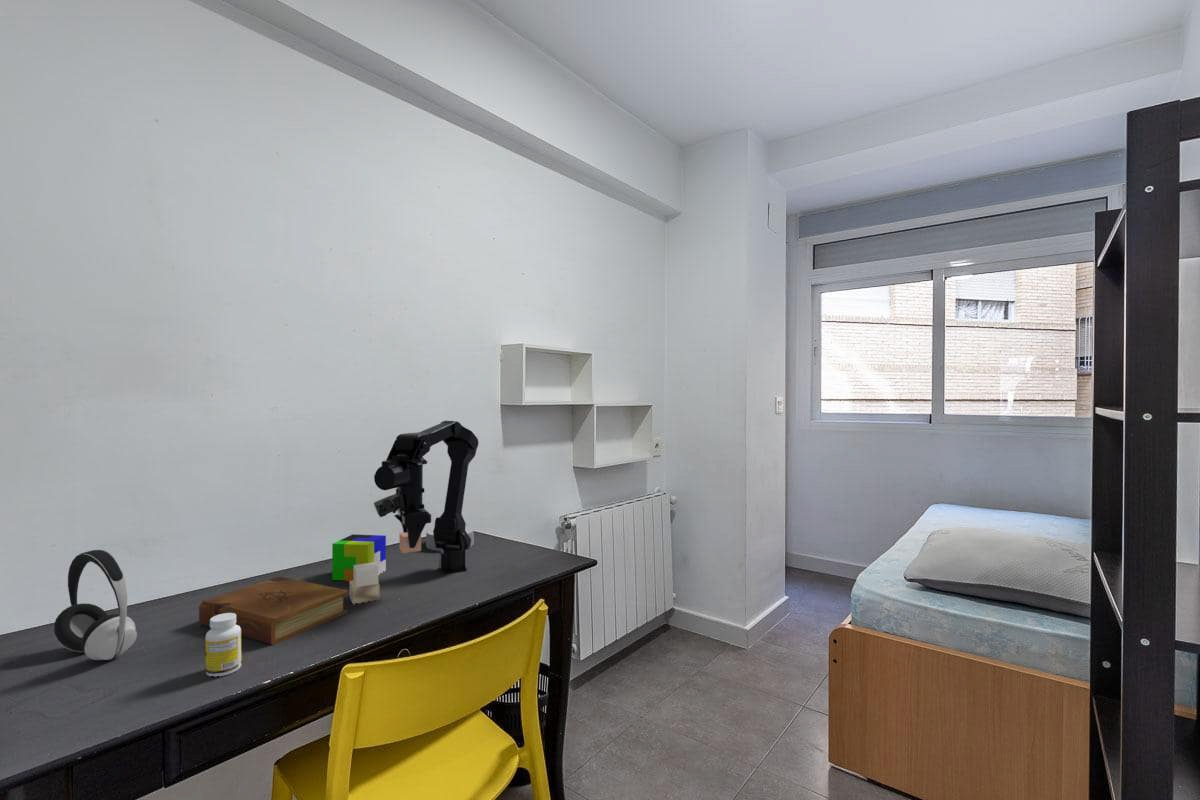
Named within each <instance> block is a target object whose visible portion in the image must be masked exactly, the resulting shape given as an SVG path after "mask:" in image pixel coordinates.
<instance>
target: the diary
mask: <svg viewBox="0 0 1200 800" xmlns="http://www.w3.org/2000/svg"><path fill="white" fill-rule="evenodd" d="M348 591H349V590H348V589H343V588H338V587H334V586H333V587H332V586H328V585H323V584H320V583H313V582H309V581H304V580H300V579H294V578H289V577H284V576H275V577H272V578H269V579H267V580H263V581H261V582H257V583H255V584H251V585H249V586H245V587H243V588H239V589H236V590H233V591H230V592H227V593H223V594H220V595H218V596H214V597H211V598H207V599H205V600H202V602H201V603H200V605H199V606H198V624H199V625H201V626H203V625H204V627H207V626H208V628H210V619H211V618H212V617H214V616H216V615H219V614H224V613H235V614H236V623H235V624H236V625H238V626H240V628H241V637H244V638H248V639H250V640H253V641H258V642H262V643H265V644H268V645H272V646H274V645H276V643H277V644H279V643H281V642H283V641H286V640H287V639H290V638H293V637H295V636H297V635H299V634H301V632H302V633H304V632H306V631H308V629H309V630H310V629H313V628H315V627H317V626H320V625H322V624H324V623H327V622H329V621H331V620H333V619H335V618H338V617H340V616H342V615H341V614H343V615H344V613H345V614H347V613H348V610H347V609H344V596H346V595H348V594H349V592H348ZM346 612H347V613H346ZM339 615H340V616H339ZM303 631H304V632H303ZM292 636H293V637H292ZM285 639H286V640H285Z"/></svg>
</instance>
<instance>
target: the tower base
mask: <svg viewBox="0 0 1200 800" xmlns="http://www.w3.org/2000/svg"><path fill="white" fill-rule="evenodd" d="M349 598H351V599H350V601H351V603H353V604H352V605H356V604H355V603H358V604H362V602H364V603H368V601H370V602H375V601H374V600H376V601H379V600H380V582H378V584H375V585H368V586H362V587H356V586H355V584H354V581H349Z"/></svg>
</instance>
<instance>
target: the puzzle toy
mask: <svg viewBox="0 0 1200 800" xmlns="http://www.w3.org/2000/svg"><path fill="white" fill-rule="evenodd" d="M386 544H387V535H381V534H380V535H379V534H378V535H377V534H354V533H352V534H349V535H348V536H346V537H344V538H342V539H340V540H338V541H335V542H333V543H332V544H331V545H332V549H331V550H332V552H331V553H332V554H331V555H332V556H331V557H332V559H331V560H332V561H331V563H332V568H331V569H332V571H331V572H332V574H331V575H332V576H331V578H332V580H346V581H345V582H350V581H353V569H354V565H359V564H366V563H373V562H375V563H376V565H377V566H378V576H379V575H380V573H381V574H383V573H384V572H385V571H386V570H387V564H386V563H387V560H386V558H387V545H386ZM383 571H384V572H383Z"/></svg>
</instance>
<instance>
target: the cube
mask: <svg viewBox="0 0 1200 800" xmlns="http://www.w3.org/2000/svg"><path fill="white" fill-rule="evenodd" d="M398 544H399V546H398V547H399V550H400V552H401V553H402V554H406V553H408V554H409V553H412V552H413V553H414V552H421V551H422V534H421V535H420V537H419V539H418V541H417V544H416V546H415V548H410V546H409V540H408V534H407V532H405V533H404V532H399V543H398Z"/></svg>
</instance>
